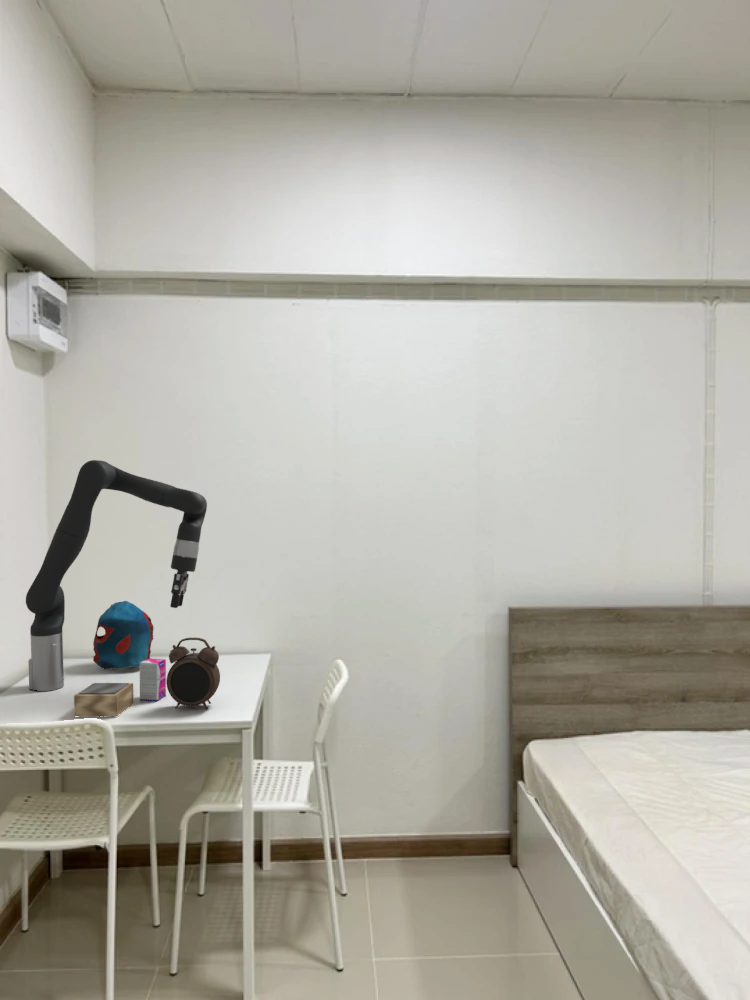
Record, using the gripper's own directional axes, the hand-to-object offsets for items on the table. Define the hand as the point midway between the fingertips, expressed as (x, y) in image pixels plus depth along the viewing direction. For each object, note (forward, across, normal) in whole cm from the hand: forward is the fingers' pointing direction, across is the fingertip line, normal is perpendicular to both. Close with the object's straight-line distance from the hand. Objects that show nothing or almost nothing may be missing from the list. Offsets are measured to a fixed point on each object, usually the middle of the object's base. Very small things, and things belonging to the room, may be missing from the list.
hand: (176, 606), depth 229 cm
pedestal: (+30, +17, -12) cm, 37 cm away
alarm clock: (+26, +19, +13) cm, 35 cm away
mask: (+26, -32, -18) cm, 45 cm away
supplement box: (+27, +8, -1) cm, 28 cm away
